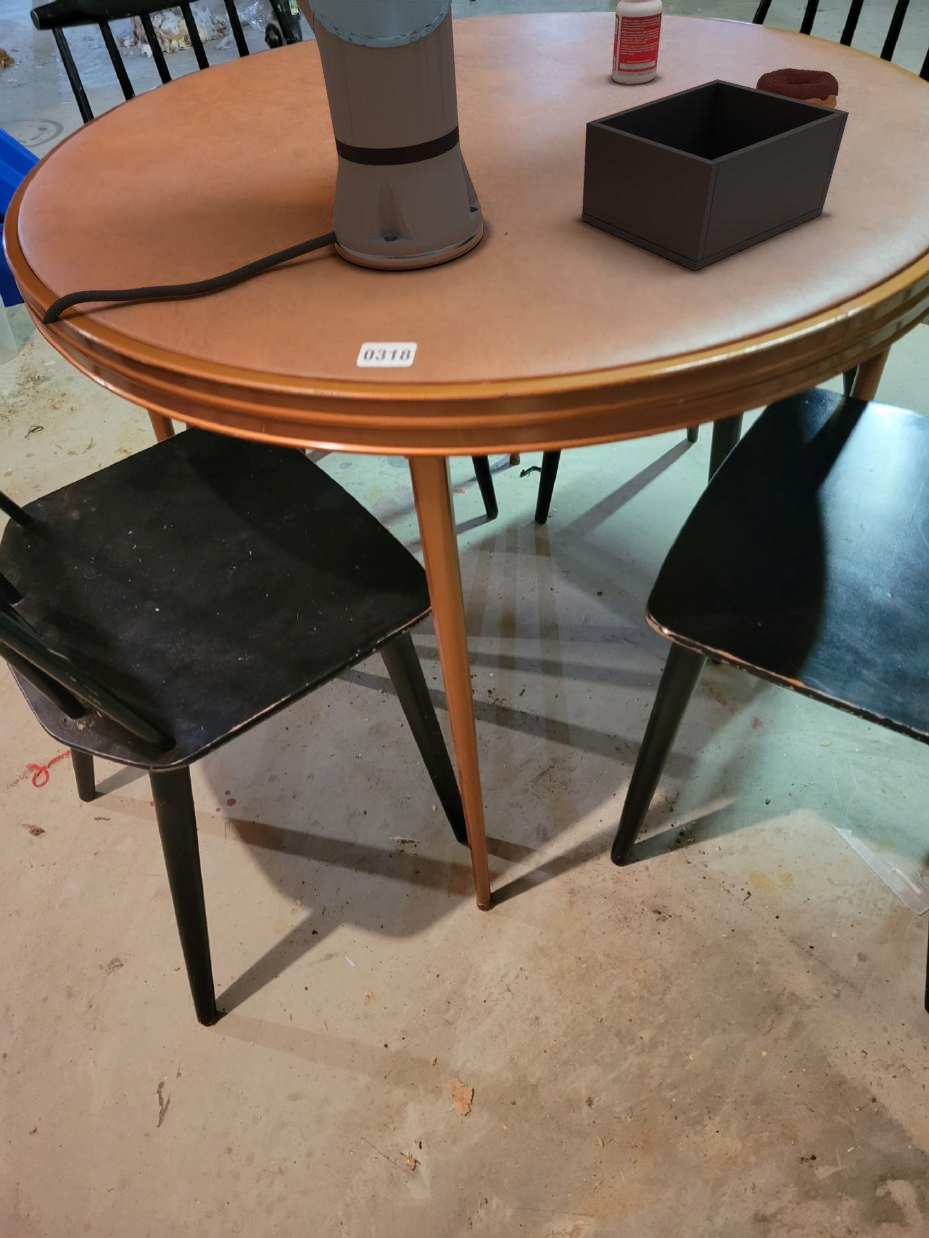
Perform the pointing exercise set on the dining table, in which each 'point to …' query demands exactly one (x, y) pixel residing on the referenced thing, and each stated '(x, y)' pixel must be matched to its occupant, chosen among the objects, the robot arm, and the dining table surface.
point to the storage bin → (709, 170)
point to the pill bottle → (636, 40)
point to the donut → (801, 85)
